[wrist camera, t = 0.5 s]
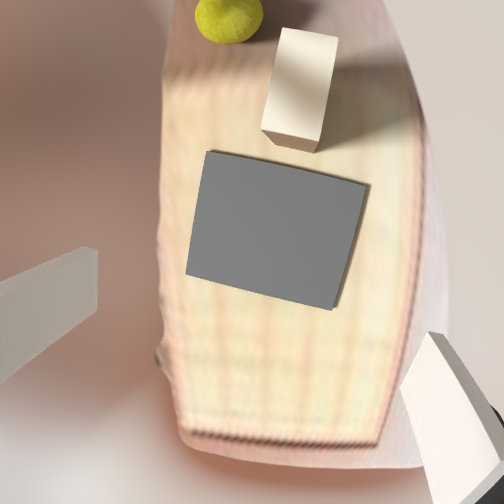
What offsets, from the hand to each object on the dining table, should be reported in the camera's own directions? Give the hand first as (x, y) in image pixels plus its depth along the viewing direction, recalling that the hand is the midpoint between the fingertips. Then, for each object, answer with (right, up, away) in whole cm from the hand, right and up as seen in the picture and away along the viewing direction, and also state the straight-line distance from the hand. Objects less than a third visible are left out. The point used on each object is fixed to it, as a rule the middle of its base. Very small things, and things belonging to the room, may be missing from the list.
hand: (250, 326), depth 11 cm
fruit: (-2, +28, +18) cm, 33 cm away
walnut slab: (+5, +17, +19) cm, 26 cm away
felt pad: (+2, +5, +23) cm, 23 cm away
